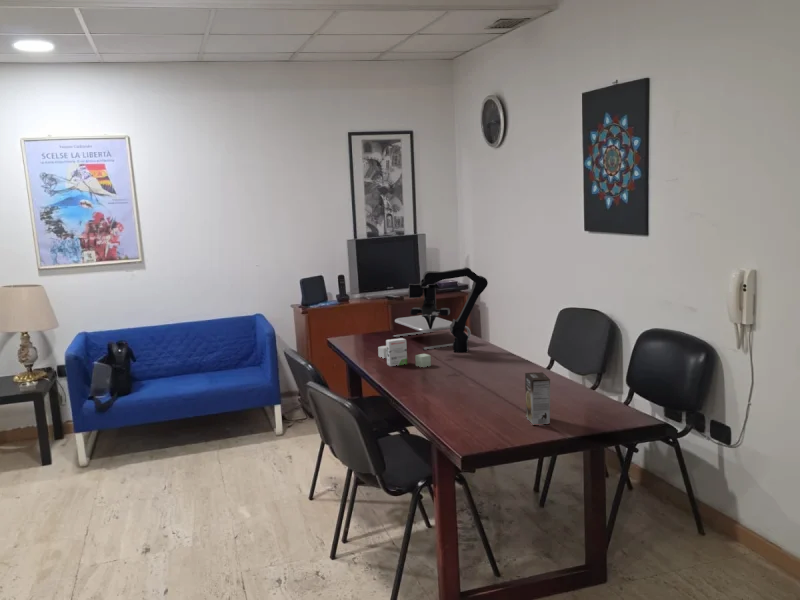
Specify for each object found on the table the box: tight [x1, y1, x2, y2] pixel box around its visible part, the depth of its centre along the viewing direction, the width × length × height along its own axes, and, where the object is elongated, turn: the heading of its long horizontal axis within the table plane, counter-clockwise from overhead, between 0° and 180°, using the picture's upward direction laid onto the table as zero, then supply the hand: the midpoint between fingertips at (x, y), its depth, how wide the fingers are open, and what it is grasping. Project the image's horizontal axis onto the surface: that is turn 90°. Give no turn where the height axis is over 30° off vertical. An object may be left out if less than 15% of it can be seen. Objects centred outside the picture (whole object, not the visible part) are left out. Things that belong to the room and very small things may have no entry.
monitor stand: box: [392, 314, 472, 351], centre depth 371 cm, size 37×28×11 cm
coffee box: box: [524, 371, 551, 425], centre depth 238 cm, size 9×6×16 cm
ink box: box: [385, 337, 408, 367], centre depth 322 cm, size 9×5×12 cm, turn 111°
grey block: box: [377, 345, 387, 359], centre depth 338 cm, size 5×5×5 cm
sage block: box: [414, 353, 432, 368], centre depth 319 cm, size 5×5×5 cm
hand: (430, 328), depth 341 cm, fingers closed
